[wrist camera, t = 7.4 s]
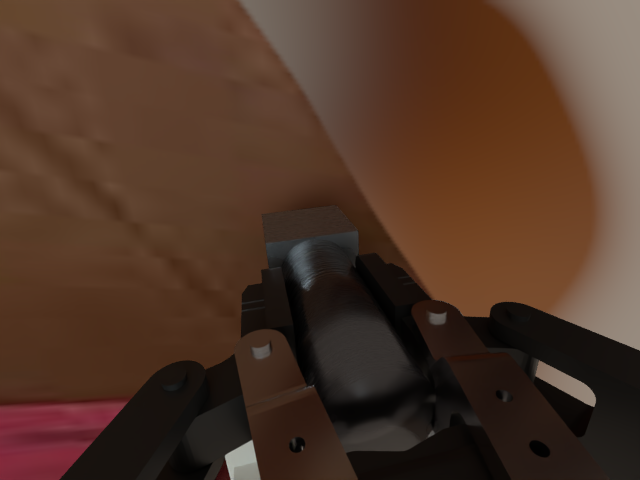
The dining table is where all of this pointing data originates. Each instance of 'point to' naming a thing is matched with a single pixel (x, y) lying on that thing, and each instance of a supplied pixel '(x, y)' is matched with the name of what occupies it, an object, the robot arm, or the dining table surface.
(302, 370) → the shaft
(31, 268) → the dining table surface
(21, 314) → the dining table surface
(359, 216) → the dining table surface
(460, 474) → the robot arm
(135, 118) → the dining table surface
